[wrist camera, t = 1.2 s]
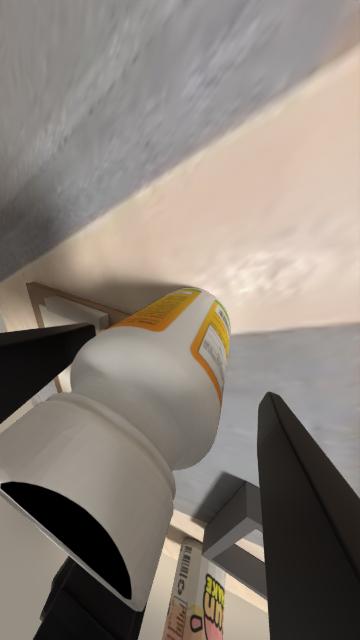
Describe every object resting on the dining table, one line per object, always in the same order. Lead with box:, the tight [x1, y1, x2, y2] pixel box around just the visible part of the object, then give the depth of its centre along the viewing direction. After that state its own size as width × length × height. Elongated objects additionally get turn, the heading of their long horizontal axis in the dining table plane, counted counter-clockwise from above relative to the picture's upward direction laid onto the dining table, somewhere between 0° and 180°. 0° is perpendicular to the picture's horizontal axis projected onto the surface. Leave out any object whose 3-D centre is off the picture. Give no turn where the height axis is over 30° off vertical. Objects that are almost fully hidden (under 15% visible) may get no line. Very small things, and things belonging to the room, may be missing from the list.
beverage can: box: [162, 538, 226, 640], centre depth 23 cm, size 9×8×12 cm
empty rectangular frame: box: [201, 482, 267, 600], centre depth 17 cm, size 18×13×2 cm
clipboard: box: [26, 282, 131, 393], centre depth 17 cm, size 18×14×2 cm
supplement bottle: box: [0, 288, 231, 612], centre depth 7 cm, size 5×5×10 cm
